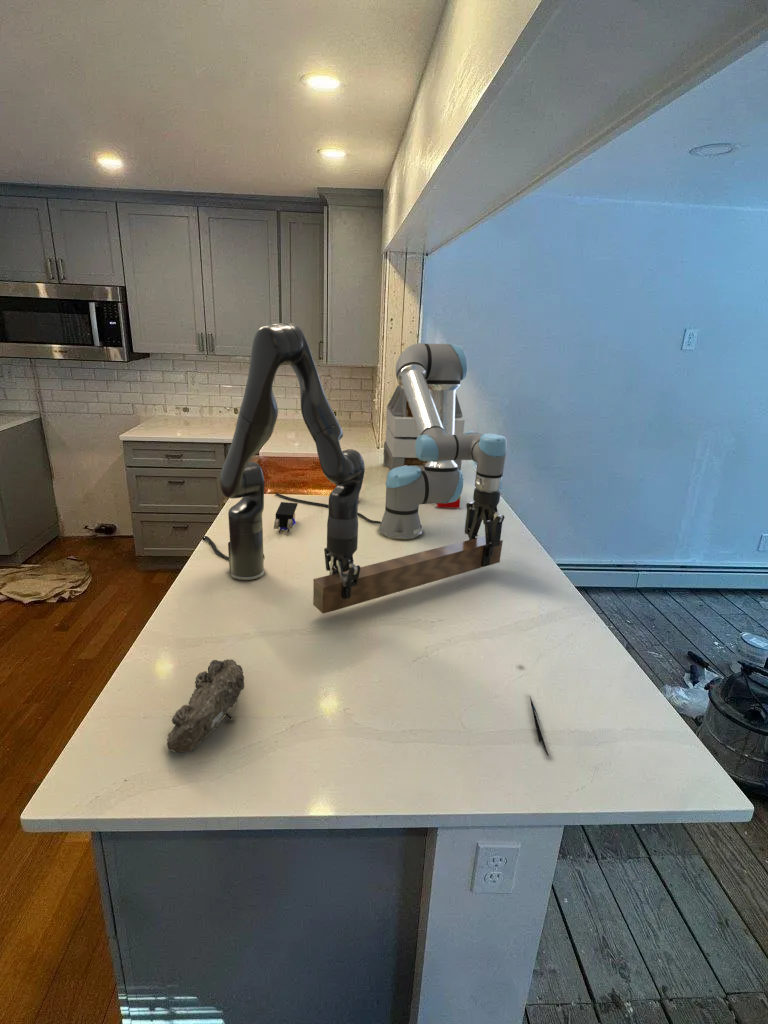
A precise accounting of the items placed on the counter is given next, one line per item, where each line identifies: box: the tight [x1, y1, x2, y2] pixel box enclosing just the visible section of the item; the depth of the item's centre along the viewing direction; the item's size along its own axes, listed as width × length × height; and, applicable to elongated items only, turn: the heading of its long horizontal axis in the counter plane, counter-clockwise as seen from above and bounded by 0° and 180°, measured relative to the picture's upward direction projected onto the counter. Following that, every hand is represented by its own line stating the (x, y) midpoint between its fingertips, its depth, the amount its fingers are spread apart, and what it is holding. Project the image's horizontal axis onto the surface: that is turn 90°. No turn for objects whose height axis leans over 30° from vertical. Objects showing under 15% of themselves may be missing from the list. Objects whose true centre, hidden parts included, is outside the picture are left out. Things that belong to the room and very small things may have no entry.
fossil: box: [166, 658, 245, 754], centre depth 106 cm, size 22×10×15 cm
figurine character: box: [273, 501, 298, 534], centre depth 199 cm, size 7×8×15 cm
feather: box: [529, 696, 549, 756], centre depth 114 cm, size 2×28×2 cm
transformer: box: [383, 384, 465, 472], centre depth 268 cm, size 34×33×41 cm
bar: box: [312, 535, 504, 615], centre depth 157 cm, size 61×5×7 cm, turn 125°
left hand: (340, 593), depth 144 cm, fingers closed on bar, 5 cm apart
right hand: (478, 561), depth 171 cm, fingers closed on bar, 5 cm apart
